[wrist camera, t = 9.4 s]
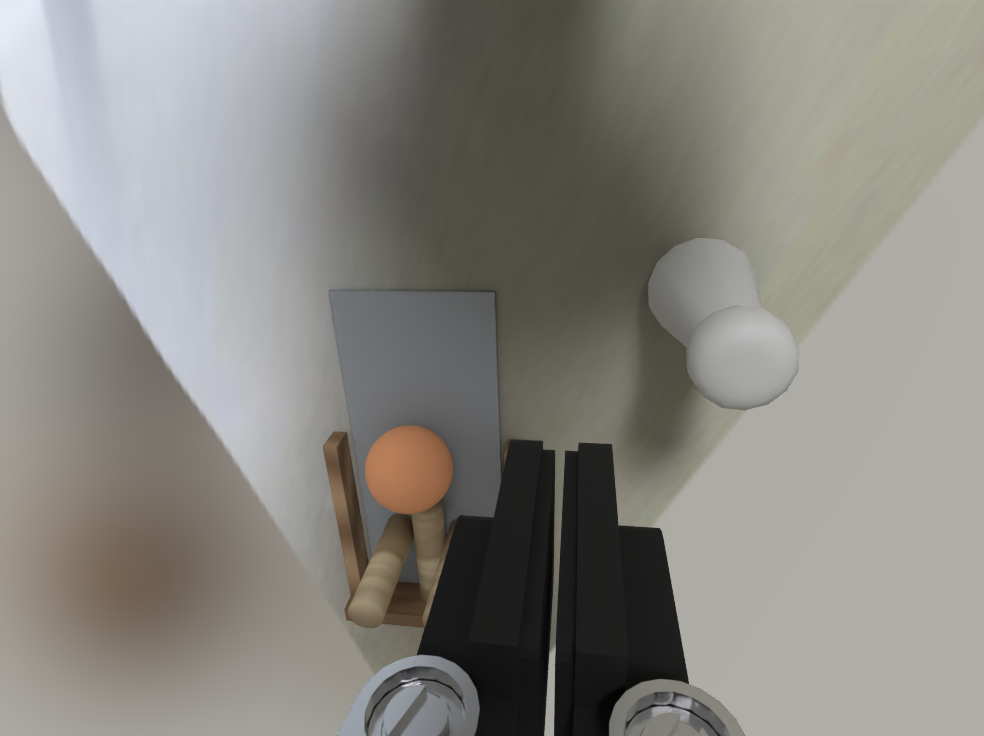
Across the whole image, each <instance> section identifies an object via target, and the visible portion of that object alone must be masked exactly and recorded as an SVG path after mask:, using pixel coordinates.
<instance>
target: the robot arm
mask: <svg viewBox="0 0 984 736" xmlns="http://www.w3.org/2000/svg"><path fill="white" fill-rule="evenodd" d="M554 504H555V450H543V441H532V440H510V442H509V446H508V451H507V456H506V460H505V465H504V470H503V475H502V480H501V484H500V489H499V494H498V499H497V504H496V508H495V513H494V517H481V516H465V515H460V516H459V517H458V518H457V521H456V524H455V527H454V530H453V534H452V537H451V540H450V544H449V547H448V551H447V554H446V558H445V561H444V564H443V568H442V571H441V575H440V578H439V581H438V585H437V588H436V592H435V595H434V599H433V602H432V605H431V609H430V612H429V616H428V619H427V622H426V626H425V629H424V633H423V636H422V640H421V643H420V646H419V650H418V653H417V656H412V657H407V658H402V659H400V660H398V661H395V662H393V663H391V664H389V665H387V666H385V667H384V668H382V669H381V670H380V671H379V672H378V673H376V674H375V675H374V676H373V677H371V678H370V679H369V680H368V682H367V683H366V685H365V686H364V687H363V689H362V690H361V692H360V693H359V694H358V696H357V698H356V699H355V701H354V703H353V705H352V707H351V709H350V711H349V713H348V715H347V717H346V718H345V720H344V722H343V724H342V726H341V728H340V730H339V731H338V733H337V735H336V736H544V730H545V713H546V696H547V679H548V663H549V648H550V631H551V615H552V598H553V576H554ZM554 736H745V734H744V732H743V731H742V729H741V727H740V725H739V723H738V722H737V720H736V718H735V717H734V716H733V715H732V714H731V713H730V712H729V711H728V710H727V709H726V708H725V707H724V706H723V704H722V703H720V701H718V700H716V699H715V698H714V697H712V696H711V695H709V694H708V693H706V692H705V691H703V690H702V689H700V688H697V687H695V686H692V685H689V681H688V675H687V669H686V664H685V659H684V652H683V647H682V641H681V635H680V630H679V624H678V619H677V613H676V607H675V601H674V596H673V590H672V584H671V579H670V573H669V567H668V562H667V556H666V550H665V545H664V539H663V535H662V531H661V529H660V528H649V527H634V526H618V515H617V502H616V489H615V477H614V464H613V451H612V444H597V443H579V446H578V451H565V469H564V489H563V509H562V529H561V549H560V569H559V589H558V609H557V629H556V657H555V715H554Z"/></svg>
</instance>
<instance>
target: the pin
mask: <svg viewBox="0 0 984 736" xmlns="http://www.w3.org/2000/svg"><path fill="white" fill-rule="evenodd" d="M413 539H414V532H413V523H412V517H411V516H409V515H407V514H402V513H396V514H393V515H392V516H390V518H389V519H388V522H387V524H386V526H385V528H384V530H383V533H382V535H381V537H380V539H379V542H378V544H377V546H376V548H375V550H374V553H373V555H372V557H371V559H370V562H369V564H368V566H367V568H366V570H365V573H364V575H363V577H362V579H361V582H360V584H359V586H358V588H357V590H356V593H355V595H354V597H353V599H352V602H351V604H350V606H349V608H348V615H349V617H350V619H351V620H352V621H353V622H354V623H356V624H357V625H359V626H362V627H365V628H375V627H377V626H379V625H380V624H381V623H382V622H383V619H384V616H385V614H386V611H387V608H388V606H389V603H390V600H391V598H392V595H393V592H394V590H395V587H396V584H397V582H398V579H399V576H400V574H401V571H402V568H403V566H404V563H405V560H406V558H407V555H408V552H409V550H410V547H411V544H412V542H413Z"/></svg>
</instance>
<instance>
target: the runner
mask: <svg viewBox="0 0 984 736" xmlns="http://www.w3.org/2000/svg"><path fill="white" fill-rule="evenodd" d="M329 297H330V303H331V310H332V316H333V322H334V328H335V334H336V340H337V346H338V352H339V358H340V365H341V371H342V377H343V383H344V389H345V395H346V401H347V407H348V413H349V420H350V426H351V432H352V438H353V444H354V450H355V456H356V462H357V468H358V475H359V481H360V487H361V493H362V499H363V505H364V511H365V517H366V523H367V530H368V536H369V542H370V548H371V554H372V555H373V553H374V550H375V548H376V546H377V544H378V542H379V539H380V537H381V535H382V533H383V530H384V528H385V526H386V524H387V522H388V519H389V518H390V516H392V515H393V514H396V513H397V512H394V511H391V510H389V509H387V508H385V507H384V506H382V505H381V504H380V503H379V502H378V501H377V500H376V499H375V498H374V497H373V495H372V494H371V492H370V490H369V488H368V485H367V482H366V477H365V463H366V459H367V456H368V453H369V451H370V449H371V447H372V446H373V444H374V443H375V442H376V441H377V439H378V438H380V437H381V436H382V435H383V434H384V433H386V432H387V431H389V430H392V429H394V428H396V427H400V426H406V425H413V426H420V427H424V428H427V429H429V430H431V431H432V432H434V433H435V434H437V435H438V436H439V437H440V438H441V439H442V440H443V441H444V442H445V444H446V445H447V447H448V449H449V451H450V454H451V457H452V461H453V476H452V480H451V484H450V486H449V488H448V490H447V492H446V494H445V495H444V496H443V498H442V501H443V512H444V524H445V536H446V538H447V534H448V531H449V528H450V525H451V523H452V521H453V520H455V519H457V518H458V517H459V516H460V515H465V516H481V517H494V513H495V508H496V504H497V499H498V494H499V489H500V484H501V480H502V478H501V450H500V422H499V394H498V365H497V337H496V309H495V292H476V291H370V290H329ZM407 515H409V516H411V517H412V514H407ZM398 582H409V583H419V576H418V567H417V558H416V549H415V540H414V539H413V542H412V544H411V547H410V550H409V552H408V555H407V558H406V560H405V563H404V566H403V568H402V571H401V574H400V576H399V579H398Z"/></svg>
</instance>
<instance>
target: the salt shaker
mask: <svg viewBox="0 0 984 736" xmlns="http://www.w3.org/2000/svg"><path fill="white" fill-rule="evenodd" d="M648 299H649V308H650V310H651V311H652V313H653V314H654V316H655V317H656V319H657V321H658V322H659V324H660V325H661V326H662V327H663V328H664V329H666V330H667V331H668V332H669V333H670V334H671V335H672V336H674V337H675V338H676V339H677V340H678V341H679V342H680V343H681V344H683V345H684V346H685V347H686V353H687V371H688V375H689V376H690V378H691V379H692V381H693V383H694V384H695V386H696V387H697V389H698V390H699V392H700V393H701V394H702V395H703V396H704V397H705V398H707V399H708V400H710V401H712V402H713V403H715V404H716V405H718V406H720V407H721V408H729V409H738V410H747V409H751V408H755V407H759V406H764V405H767V404H769V403H770V402H772V401H773V400H774V399H776V398H777V397H779V396H780V395H781V394H783V393H784V392H785V391H787V389H788V387H789V386H790V384H791V383H792V381H793V379H794V378H795V376H796V375H797V373H798V364H799V350H798V346H797V344H796V342H795V340H794V338H793V336H792V334H791V332H790V330H789V328H788V326H787V325H786V324H785V323H784V322H783V321H782V320H781V319H779V318H778V317H776V316H774V315H773V314H771V313H769V312H768V311H766V310H764V309H763V308H762V304H761V299H760V293H759V288H758V283H757V278H756V273H755V271H754V269H753V267H752V265H751V263H750V261H749V259H748V258H747V256H746V254H745V253H744V252H742V251H741V250H739V249H737V248H736V247H734V246H733V245H731V244H729V243H728V242H726V241H724V240H720V239H709V238H696V239H693V240H690V241H687V242H684V243H681V244H678V245H675V246H674V247H673V248H672V249H671V250H670V251H669V252H667V253H666V254H665V255H664V256H663V257H662V258H661V259H660V260H658V261H657V263H656V266H655V268H654V270H653V273H652V275H651V277H650V280H649V282H648Z"/></svg>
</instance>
